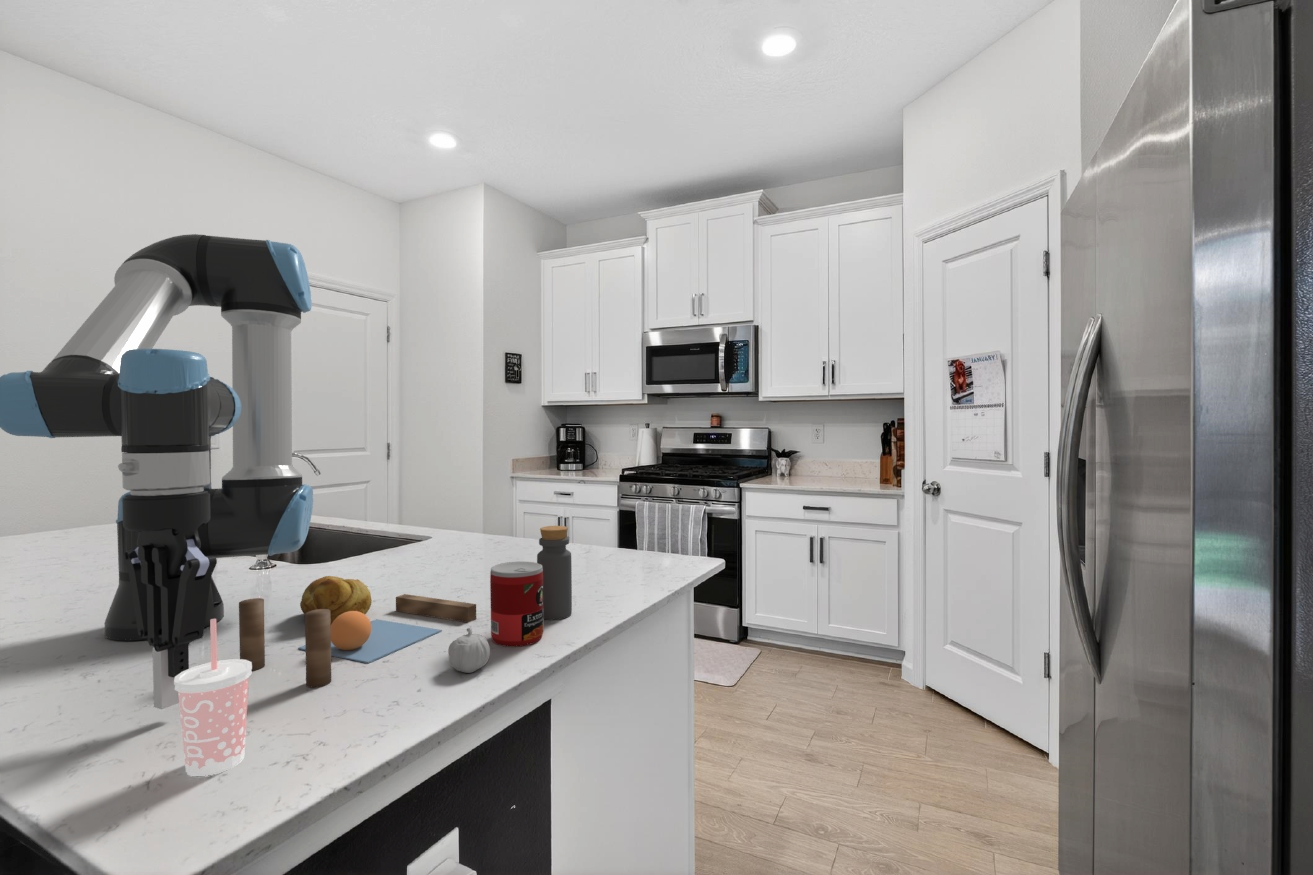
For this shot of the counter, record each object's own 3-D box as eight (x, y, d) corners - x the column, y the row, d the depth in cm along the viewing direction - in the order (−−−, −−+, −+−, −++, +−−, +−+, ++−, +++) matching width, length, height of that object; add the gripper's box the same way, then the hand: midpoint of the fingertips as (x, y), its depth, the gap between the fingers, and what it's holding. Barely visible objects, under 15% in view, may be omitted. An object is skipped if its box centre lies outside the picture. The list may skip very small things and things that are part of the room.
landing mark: (298, 648, 88) (298, 647, 88) (376, 620, 101) (376, 619, 101) (368, 663, 82) (368, 661, 82) (441, 631, 95) (441, 629, 95)
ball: (343, 600, 90) (359, 628, 92) (314, 628, 85) (331, 655, 88) (370, 604, 87) (385, 632, 90) (340, 633, 83) (357, 661, 85)
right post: (300, 685, 75) (299, 614, 75) (321, 676, 78) (320, 607, 78) (316, 689, 74) (315, 616, 74) (336, 680, 77) (335, 610, 77)
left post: (235, 669, 80) (234, 602, 80) (256, 662, 83) (255, 597, 83) (248, 672, 79) (247, 605, 79) (269, 665, 82) (268, 599, 82)
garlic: (457, 660, 84) (457, 622, 84) (496, 660, 83) (495, 623, 83) (440, 678, 78) (440, 638, 78) (482, 678, 77) (481, 638, 77)
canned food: (531, 649, 87) (531, 574, 87) (481, 645, 89) (480, 571, 89) (551, 631, 95) (550, 562, 95) (504, 628, 97) (503, 560, 96)
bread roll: (287, 618, 102) (286, 571, 102) (344, 604, 110) (343, 561, 110) (323, 633, 95) (322, 582, 95) (382, 617, 103) (381, 570, 103)
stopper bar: (395, 611, 106) (395, 596, 106) (404, 607, 108) (404, 594, 107) (468, 622, 99) (468, 607, 99) (476, 618, 101) (476, 604, 101)
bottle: (530, 617, 102) (529, 529, 102) (549, 607, 107) (548, 524, 107) (560, 621, 100) (559, 531, 99) (578, 611, 105) (577, 526, 105)
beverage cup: (159, 773, 56) (156, 625, 56) (226, 741, 62) (224, 606, 62) (203, 787, 54) (200, 633, 54) (268, 753, 60) (266, 613, 60)
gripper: (92, 492, 65) (97, 706, 66) (163, 497, 60) (168, 730, 61) (170, 485, 72) (174, 680, 73) (240, 489, 67) (244, 698, 68)
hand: (171, 702), depth 67 cm, fingers closed
